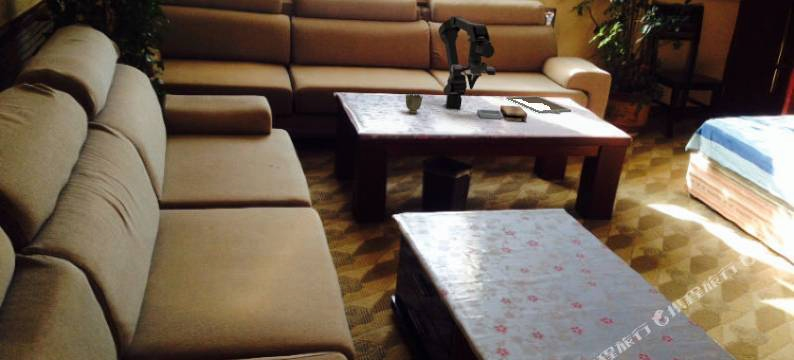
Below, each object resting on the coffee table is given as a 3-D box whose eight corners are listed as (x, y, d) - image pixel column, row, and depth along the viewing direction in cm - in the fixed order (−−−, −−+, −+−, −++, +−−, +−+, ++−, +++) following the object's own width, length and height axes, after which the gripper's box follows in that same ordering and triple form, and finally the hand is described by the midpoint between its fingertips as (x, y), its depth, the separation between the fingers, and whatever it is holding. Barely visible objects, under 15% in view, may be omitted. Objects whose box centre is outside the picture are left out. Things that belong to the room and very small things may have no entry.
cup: (423, 115, 284) (425, 97, 282) (408, 115, 282) (409, 97, 279) (417, 110, 291) (418, 93, 288) (401, 111, 288) (403, 93, 285)
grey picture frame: (537, 95, 333) (575, 111, 308) (536, 98, 333) (574, 114, 308) (506, 97, 325) (542, 113, 300) (505, 100, 325) (542, 116, 300)
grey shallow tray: (480, 118, 286) (481, 114, 286) (477, 113, 294) (477, 109, 293) (502, 119, 287) (503, 115, 287) (498, 114, 295) (499, 110, 294)
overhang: (506, 121, 285) (507, 112, 284) (499, 113, 297) (500, 105, 296) (526, 122, 286) (527, 114, 284) (518, 114, 298) (519, 106, 297)
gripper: (456, 55, 271) (452, 92, 277) (500, 58, 273) (495, 94, 279) (452, 51, 282) (449, 86, 287) (494, 53, 283) (490, 88, 289)
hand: (471, 89), depth 285 cm, fingers closed
